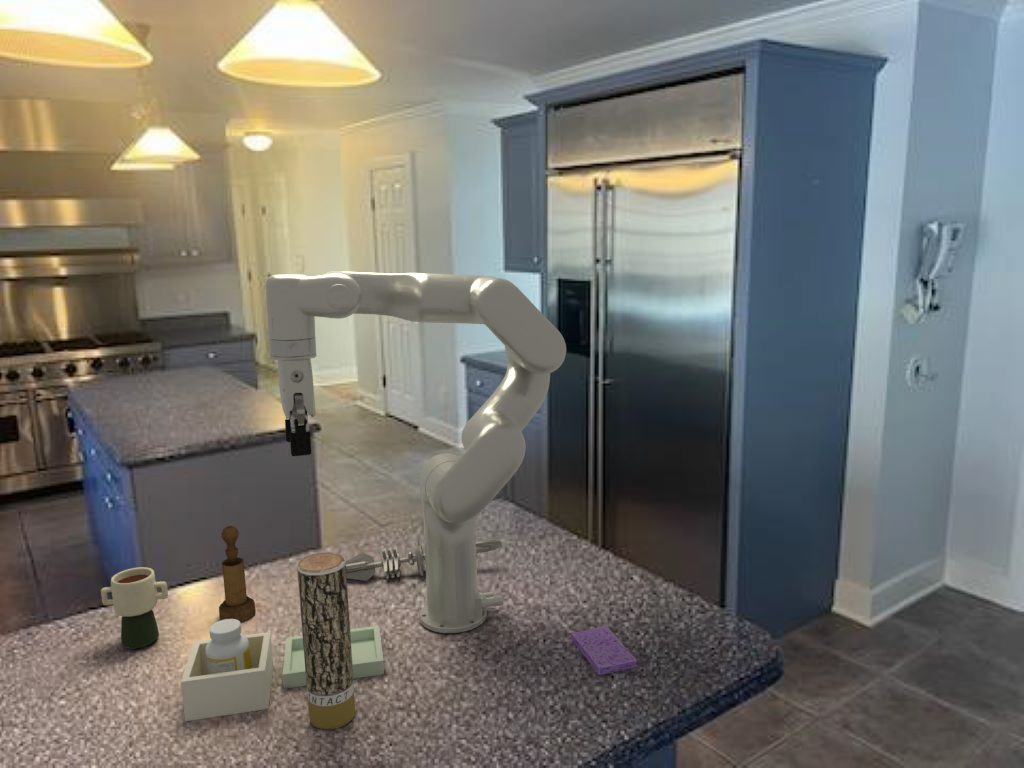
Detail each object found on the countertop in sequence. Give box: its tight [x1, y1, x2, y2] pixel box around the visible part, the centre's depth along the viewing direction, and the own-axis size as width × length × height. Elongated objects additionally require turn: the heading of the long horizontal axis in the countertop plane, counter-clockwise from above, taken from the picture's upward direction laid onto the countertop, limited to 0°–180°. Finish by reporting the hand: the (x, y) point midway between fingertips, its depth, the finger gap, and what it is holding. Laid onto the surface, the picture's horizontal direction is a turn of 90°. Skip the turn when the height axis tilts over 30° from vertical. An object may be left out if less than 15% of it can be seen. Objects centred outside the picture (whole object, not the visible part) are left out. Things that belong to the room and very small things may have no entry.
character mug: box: [100, 566, 169, 650], centre depth 138 cm, size 11×7×13 cm, turn 102°
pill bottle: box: [205, 619, 251, 675], centre depth 122 cm, size 6×6×12 cm
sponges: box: [570, 625, 638, 676], centre depth 133 cm, size 7×13×2 cm, turn 17°
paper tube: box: [296, 552, 356, 730], centre depth 114 cm, size 7×7×25 cm
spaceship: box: [345, 538, 503, 581], centre depth 164 cm, size 8×35×8 cm
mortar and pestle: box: [218, 525, 256, 623], centre depth 147 cm, size 7×6×18 cm
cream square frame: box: [180, 631, 275, 722], centre depth 123 cm, size 12×12×6 cm
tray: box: [282, 625, 385, 690], centre depth 131 cm, size 16×12×2 cm
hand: (298, 447), depth 132 cm, fingers open, 9 cm apart
